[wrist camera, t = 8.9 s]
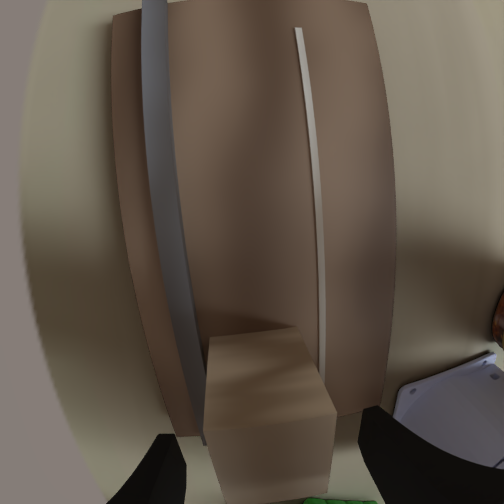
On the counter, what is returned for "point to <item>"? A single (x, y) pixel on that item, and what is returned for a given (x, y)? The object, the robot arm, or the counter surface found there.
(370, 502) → the fruit basket
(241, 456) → the maple block
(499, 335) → the sauce bottle
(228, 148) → the walnut board
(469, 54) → the counter surface
